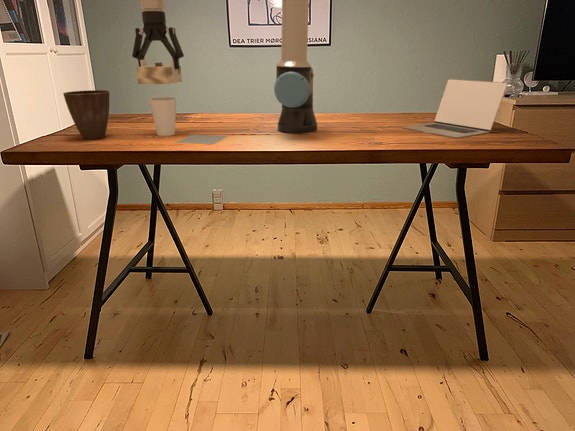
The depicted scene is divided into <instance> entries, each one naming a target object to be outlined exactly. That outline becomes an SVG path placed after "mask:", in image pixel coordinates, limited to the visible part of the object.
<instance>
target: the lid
mask: <svg viewBox="0 0 575 431" xmlns="http://www.w3.org/2000/svg"><path fill="white" fill-rule="evenodd" d="M181 67H182V66H181V65H179V69H177V71H178V79H176V80H173V77H172V67H171V65H163V62H155V63H154V65H147V66H143V67H139V66H136V67H135V68H136V69H135V70H136V76H137V84H139V85H170V84H176V83H182V82H183V79H182V68H181Z"/></svg>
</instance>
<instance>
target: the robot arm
mask: <svg viewBox="0 0 575 431" xmlns="http://www.w3.org/2000/svg"><path fill="white" fill-rule="evenodd" d="M309 6H310V0H281V47H280V49H281V50H280V51H281V53H280V54H281V55H280V57H281V58H280V61H278V63H277V64H276V75H275V76H276V79H275V82H274V85H273V89H274V96H275V98H276V100H277V101H278V102H279V103H280V105H281V112H280V115H279V118H278V122H277V131H279V132H281V133H285V134H286V133H288V134H306V133H312V132H316V131H317V130H318V121H317V119H316V115H315V112H314V69H313V67H312V65H311V64H310V63H309V62H308V39H309V38H308V36H309V35H308V33H309V10H310V9H309ZM140 9H141V10H142V12H141V18H142V23H143V27H142V28H141V27H136V28H135V29H134V31H135V38H134V44H133V49H132V54H131V55H132V58H134V59H136V60H137V63H138V67H143V66H148V65H147V59H145V56H146V54H147V52H148V50H149V48H150V45H151V43H153V42H156V41H160V42H161V43H162V44H163V46H164V48H166V50H167V52H168V54H169V55H170V57H171V58H172V59H170V64H171V65H170V66H171V67H172V77H173V80H176V79H178V71H177V69H179V66H180V59H182V58H183V57H185V55H184V54H185V53H183V50H182V47H181V45H180V42H179V40H178V37H177V32H176V28H175V27H171V26H169V27H167V25H166V24H167V20H166V13H165V11H164V10H165V0H140ZM144 34H145V36H144V38H143V35H144ZM167 34H168V36H169V39H170V41H171V42H170V41H169V39H168V37H167ZM142 42H143V43H142ZM171 43H172V44H171Z"/></svg>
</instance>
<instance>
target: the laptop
mask: <svg viewBox="0 0 575 431" xmlns="http://www.w3.org/2000/svg"><path fill="white" fill-rule="evenodd" d="M507 87H508V83H507V82H497V81H485V80H484V81H482V80H472V79H471V80H470V79H468V80H467V79H453V78H452V79H451V78H448V79H447V81H446V84H445V87H444V88H445V89H444V91H443V93H442V96H441V100H440V102H439V105H438V108H437V111H436V114H435V117H434V120H433V122H427V123H421V124H414V125H406V126H405V125H404V126H401V129H402V130H407V131H412V132H419V133H424V134H428V135H434V136H440V137H445V138H449V139H455V140H458V139H463V138H469V137H475V136H481V135H487V134H490V132H492V128H493V126H494V123H495V120H496V118H497V114H498V111H499V109H500V106H501V103H502V100H503V98H504V95H505V91H506V89H507Z"/></svg>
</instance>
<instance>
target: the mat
mask: <svg viewBox="0 0 575 431" xmlns="http://www.w3.org/2000/svg"><path fill="white" fill-rule="evenodd" d="M228 137H229V136H228V135H214V134H213V135H211V134H210V135H209V134H192V135H191V134H190V135H188V136H186V137H184V138H182V139H179V140H177V141H174V143H178V144H199V145H200V144H204V145H214V144H216V143H218V142H221V141H223V140H225V139H226V138H228Z"/></svg>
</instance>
